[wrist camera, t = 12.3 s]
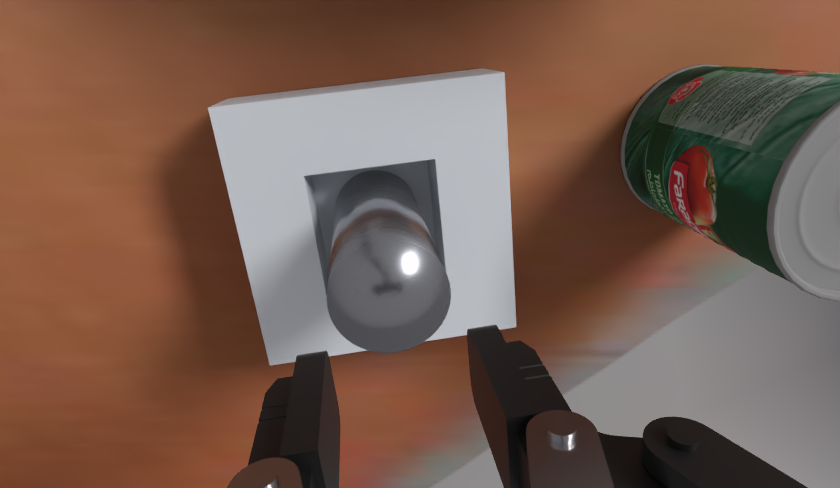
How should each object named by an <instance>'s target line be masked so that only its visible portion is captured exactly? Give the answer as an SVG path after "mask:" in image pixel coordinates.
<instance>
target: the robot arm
mask: <svg viewBox="0 0 840 488" xmlns="http://www.w3.org/2000/svg"><path fill="white" fill-rule="evenodd" d="M467 342H468V354H469V366H470V378H471V387H472V393H473V397H474V402H475V405H476V408H477V411H478V414H479V417H480V420H481V423H482V426H483V429H484V431H485V434H486V437H487V440H488V443H489V446H490V449H491V451H492V454H493V457H494V460H495V463H496V466H497V469H498V472H499V475H500V477H501V480H502V483H503V486H504V488H807V487H806V486H804V485H803V484H801V483H799V482H798V481H796V480H794V479H793V478H791V477H789V476H788V475H786V474H784V473H783V472H781V471H779V470H778V469H776V468H775V467H773V466H771V465H770V464H768V463H766V462H765V461H763V460H761V459H760V458H758V457H756V456H755V455H753V454H752V453H750V452H748V451H747V450H745V449H743V448H742V447H740V446H738V445H737V444H735V443H733V442H732V441H730V440H729V439H727V438H725V437H724V436H722V435H720V434H719V433H717V432H715V431H714V430H712V429H710V428H709V427H707V426H705V425H703V424H701V423H699V422H697V421H694V420H691V419H687V418H682V417H664V418H659V419H656V420H653V421H652V422H650V423H649V424H648V425H647V426H646V427H645V429H644V432H643V438H638V437H623V436H613V435H607V434H603V433H600V432H598V431H597V429H596V427H595V426H594V424H593V423H592V422H591V421H590V420H588V419H587V418H585V417H584V416H582V415H580V414H577V413H574V412H572V411H571V409H570V408H569V406H568V404H567V403H566V401H565V399H564V398H563V396H562V394H561V393H560V391H559V389H558V388H557V386H556V385H555V383H554V381H553V380H552V378H551V376H549V373H548V371H547V370H546V368H545V366H543V363H542V361H541V360H540V358H539V356H538V355H537V353H536V351H535V350H534V349H532V348H531V347H529V346H527V345H526V344H524V343H523V342H521V341H515V342H509V343H506V342H505V340H504V338H503V336H502V334H501V332H500V330H499V328H498V327H497V325H490V326H483V327H477V328H471V329H467ZM339 459H340V415H339V407H338V401H337V396H336V391H335V386H334V380H333V375H332V370H331V365H330V360H329V355H328V352H327V351H321V352H314V353H308V354H302V355H297V357H296V362H295V368H294V373H293V376H292V377H286V378H279V379H277V380H276V381H275V382H274V383H273V385H272V386H271V387H270V388H269V389H268V391H267V392H266V393H265V397H264V401H263V405H262V411H261V414H260V418H259V424H258V426H257V430H256V434H255V438H254V442H253V447H252V451H251V455H250V459H249V463H248V466H247V467H245V468H243V469H242V470H241V471H240V472H238V473H237V474H236V475H235V476H234V477H233V479H232V480H231V481H230V483H229V485H228V486H227V488H339Z"/></svg>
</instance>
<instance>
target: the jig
mask: <svg viewBox="0 0 840 488" xmlns="http://www.w3.org/2000/svg"><path fill="white" fill-rule="evenodd" d="M208 111H209V115H210V119H211V123H212V127H213V132H214V136H215V140H216V144H217V148H218V152H219V156H220V161H221V165H222V169H223V173H224V177H225V181H226V186H227V190H228V194H229V198H230V202H231V206H232V211H233V215H234V219H235V223H236V227H237V231H238V235H239V240H240V244H241V248H242V252H243V256H244V260H245V265H246V269H247V273H248V277H249V281H250V285H251V289H252V294H253V298H254V302H255V306H256V310H257V314H258V319H259V323H260V327H261V331H262V335H263V339H264V343H265V348H266V352H267V356H268V360H269V364H270V366H271V365H277V364H284V363H290V362H296V357H297V355H302V354H308V353H314V352H321V351H327V352H328V355H329V356H335V355H341V354H348V353H354V352H360V351H367V350H365V349H363V348H360V347H358V346H356V345H354V344H352V343H351V342H350V341H348V340H347V339H346V338H345V337H343V336H342V335H341V334H340V332H339V331H338V330H337V329H336V327H335V326H334V324H333V322H332V320H331V318H330V316H329V312H328V308H327V287H328V277H329V266H330V256H331V246H332V235H333V225H334V215H335V205H336V200H337V197H338V194H339V192H340V190H341V189H342V187H343V186H344V185H345V183H346V182H347V181H349V180H350V179H351V178H352V177H354V176H355V175H358V174H360V173H362V172H365V171H370V170H382V171H387V172H390V173H392V174H395V175H397V176H398V177H400V178H401V179H402V180H403V181H405V182H406V184H407V185H408V186H409V187H410V189H411V190H412V192H413V194H414V197H415V199H416V202H417V204H418V206H419V209H420V211H421V214H422V216H423V218H424V221H425V223H426V226H427V228H428V230H429V233H430V235H431V238H432V240H433V242H434V245H435V247H436V250H437V252H438V254H439V257H440V259H441V262H442V264H443V266H444V269H445V271H446V274H447V276H448V279H449V282H450V288H451V301H450V306H449V310H448V313H447V315H446V318H445V320H444V321H443V323H442V325H441V326H440V327H439V329H438V330H437V331H436V332H435V333H434V334H433V335H432V336H431V337H430V338H428V339H427V340H426V341H431V340H437V339H444V338H450V337H456V336H463V335H467V329H471V328H477V327H483V326H490V325H497V327H498V328H499V330H501V329H508V328H514V327H516V307H515V286H514V264H513V243H512V221H511V200H510V178H509V157H508V135H507V114H506V92H505V72H500V71H494V70H489V69H483V68H481V69H472V70H464V71H455V72H447V73H438V74H430V75H421V76H413V77H404V78H396V79H388V80H379V81H371V82H362V83H354V84H345V85H337V86H328V87H320V88H311V89H303V90H295V91H286V92H278V93H269V94H261V95H252V96H244V97H235V98H228V99H226V100H224V101H222V102H219V103H217V104H215V105H213V106H210V107H208Z"/></svg>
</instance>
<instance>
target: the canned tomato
mask: <svg viewBox="0 0 840 488" xmlns="http://www.w3.org/2000/svg"><path fill="white" fill-rule="evenodd" d="M621 166H622V170H623V174H624V178H625V180H626V182H627V184H628V186H629V188H630V190H631V191H632V192H633V194H634V195H635V196H636V197H637V198H638V199H639V200H640V201H641V202H642V203H644V204H645V205H646V206H648V207H649V208H651V209H654V210H656V211H658V212H660V213H663V214H664V215H666V216H667V217H669V218H671V219H673V220H675V221H676V222H679V223H681V224H683V225H684V226H686V227H688V228H690V229H692V230H693V231H695V232H697V233H699V234H702V235H703V236H704V237H706V238H708V239H711V240H713V241H714V242H715V243H717V244H719V245H722V246H724V247H725V248H727V249H728V250H730V251H733V252H735V253H737V254H738V255H740V256H741V257H744V258H746V259H748V260H750V261H751V262H753V263H754V264H756V265H759V266H761V267H763V268H765V269H766V270H767V271H769V272H771V273H774V274H776V275H778V276H780V277H782V278H784V279H786V280H788V281H790V282H792V283H793V284H794V285H796V286H797V287H798V288H799V289H801V290H803V291H805V292H807V293H809V294H812V295H814V296H817V297H819V298H824V299H829V300H835V301H840V73H829V72H811V71H793V70H778V69H764V68H745V67H722V66H718V65H696V66H691V67H686V68H683V69H681V70H678V71H676V72H674V73H671V74H669V75H668V76H666V77H665V78H663V79H662V80H660V81H659V82H657V83H656V84H655V85H654V86H653V87H652V88H651V89H650V90H648V91H647V92H646V93H645V94H644V96H643V97H642V98H641V100H640V101H639V102H638V103H637V105H636V106H635V108H634V110H633V112H632V113H631V115H630V117H629V119H628V121H627V124H626V127H625V130H624V133H623V137H622V143H621Z"/></svg>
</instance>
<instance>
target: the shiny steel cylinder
mask: <svg viewBox="0 0 840 488" xmlns="http://www.w3.org/2000/svg"><path fill="white" fill-rule="evenodd" d="M450 301H451V288H450V282H449V279H448V276H447V274H446V271H445V269H444V266H443V264H442V262H441V259H440V257H439V254H438V252H437V250H436V247H435V245H434V242H433V240H432V238H431V235H430V233H429V230H428V228H427V226H426V223H425V221H424V218H423V216H422V214H421V211H420V209H419V206H418V204H417V202H416V199H415V197H414V194H413V192H412V190H411V189H410V187H409V186H408V185H407V184H406V182H405V181H403V180H402V179H401V178H400V177H398V176H397V175H395V174H392V173H390V172H387V171H382V170H370V171H365V172H362V173H360V174H358V175H355V176H354V177H352V178H351V179H350V180H349V181H347V182H346V183H345V185H344V186H343V187H342V189H341V190H340V192H339V194H338V197H337V200H336V205H335V215H334V225H333V235H332V246H331V256H330V266H329V277H328V287H327V308H328V312H329V316H330V318H331V320H332V322H333V324H334V326H335V327H336V329H337V330H338V331H339V332H340V334H341V335H342V336H343V337H345V338H346V339H347V340H348V341H350V342H351V343H352V344H354V345H356V346H358V347H360V348H363V349H365V350H369V351H373V352H380V353H393V352H400V351H404V350H408V349H411V348H413V347H415V346H417V345H419V344H421V343H423V342H424V341H426V340H427V339H428V338H430V337H431V336H432V335H433V334H434V333H435V332H436V331H437V330H438V329H439V327H440V326H441V325H442V323H443V321H444V320H445V318H446V315H447V313H448V310H449V306H450Z"/></svg>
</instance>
